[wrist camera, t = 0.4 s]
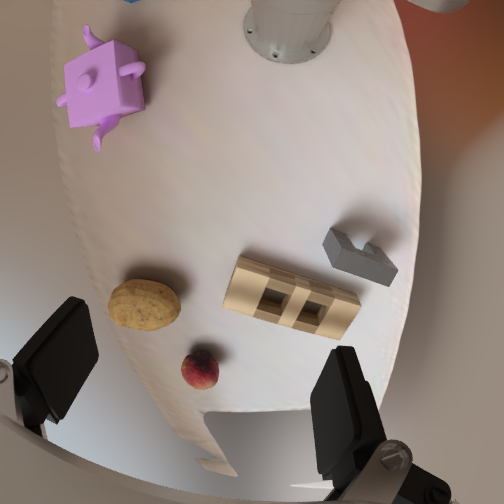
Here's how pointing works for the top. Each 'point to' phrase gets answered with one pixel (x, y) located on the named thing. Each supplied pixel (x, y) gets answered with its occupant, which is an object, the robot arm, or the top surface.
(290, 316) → the wooden block with holes
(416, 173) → the top surface
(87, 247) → the top surface
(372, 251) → the gray pronged block
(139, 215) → the top surface
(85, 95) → the teapot
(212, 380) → the fruit
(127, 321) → the potato
